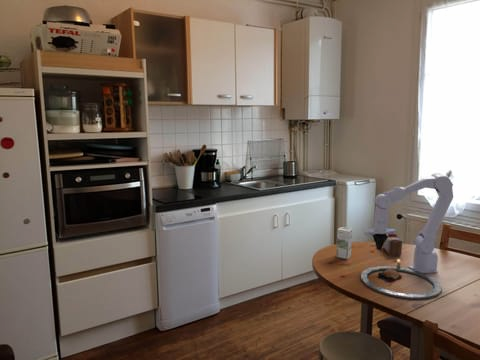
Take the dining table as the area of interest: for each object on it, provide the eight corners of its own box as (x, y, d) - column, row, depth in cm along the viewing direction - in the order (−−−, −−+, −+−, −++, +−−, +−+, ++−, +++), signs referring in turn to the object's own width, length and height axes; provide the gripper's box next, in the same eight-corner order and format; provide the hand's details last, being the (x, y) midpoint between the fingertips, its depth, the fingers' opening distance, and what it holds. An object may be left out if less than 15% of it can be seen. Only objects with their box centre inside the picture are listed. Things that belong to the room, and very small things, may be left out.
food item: (380, 247, 210) (381, 229, 209) (395, 247, 210) (397, 229, 208) (387, 255, 197) (389, 236, 195) (404, 256, 196) (405, 237, 195)
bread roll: (386, 272, 177) (387, 264, 177) (404, 278, 171) (405, 270, 171) (374, 278, 170) (374, 270, 170) (392, 284, 164) (393, 276, 164)
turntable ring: (434, 270, 178) (435, 263, 178) (446, 304, 145) (447, 296, 145) (363, 260, 189) (363, 254, 188) (358, 291, 156) (359, 283, 155)
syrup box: (351, 256, 195) (352, 228, 193) (347, 260, 190) (349, 230, 188) (339, 254, 198) (341, 226, 196) (335, 257, 193) (337, 228, 191)
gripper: (390, 217, 184) (388, 245, 186) (361, 219, 181) (360, 247, 183) (399, 221, 177) (397, 251, 179) (369, 223, 174) (367, 252, 176)
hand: (378, 249), depth 181 cm, fingers closed
